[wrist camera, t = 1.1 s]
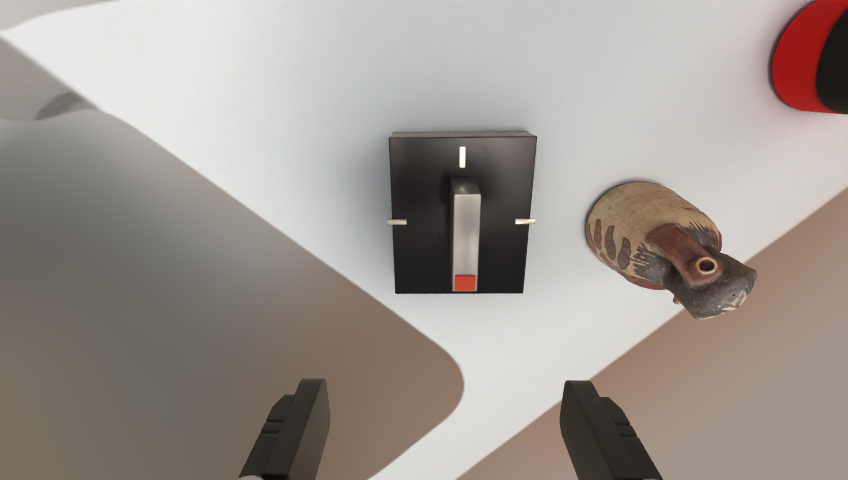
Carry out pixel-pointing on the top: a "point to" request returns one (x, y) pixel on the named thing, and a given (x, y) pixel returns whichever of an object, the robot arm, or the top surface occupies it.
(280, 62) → the top surface
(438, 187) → the tap plate
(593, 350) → the top surface
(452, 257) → the grey rectangular block
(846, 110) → the soda can
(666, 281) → the figurine
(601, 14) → the top surface
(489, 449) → the top surface
